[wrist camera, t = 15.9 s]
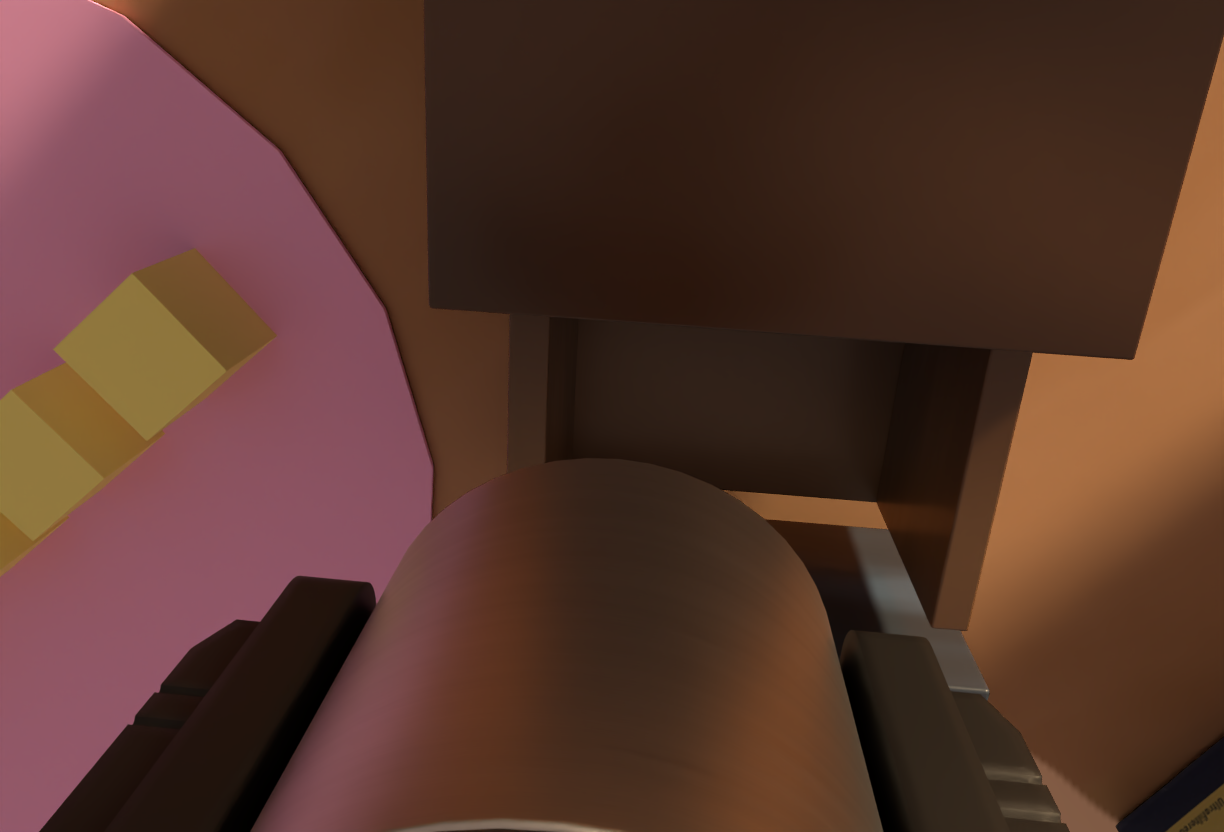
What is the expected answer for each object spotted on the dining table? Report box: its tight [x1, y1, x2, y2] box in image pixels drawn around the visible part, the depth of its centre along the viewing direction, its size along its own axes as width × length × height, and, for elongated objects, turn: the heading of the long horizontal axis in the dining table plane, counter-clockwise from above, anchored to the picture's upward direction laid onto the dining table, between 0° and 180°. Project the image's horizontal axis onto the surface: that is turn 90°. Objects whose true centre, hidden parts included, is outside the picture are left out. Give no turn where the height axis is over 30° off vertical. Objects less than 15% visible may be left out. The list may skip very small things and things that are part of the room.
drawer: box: [507, 314, 1032, 701], centre depth 23 cm, size 19×11×7 cm, turn 177°
